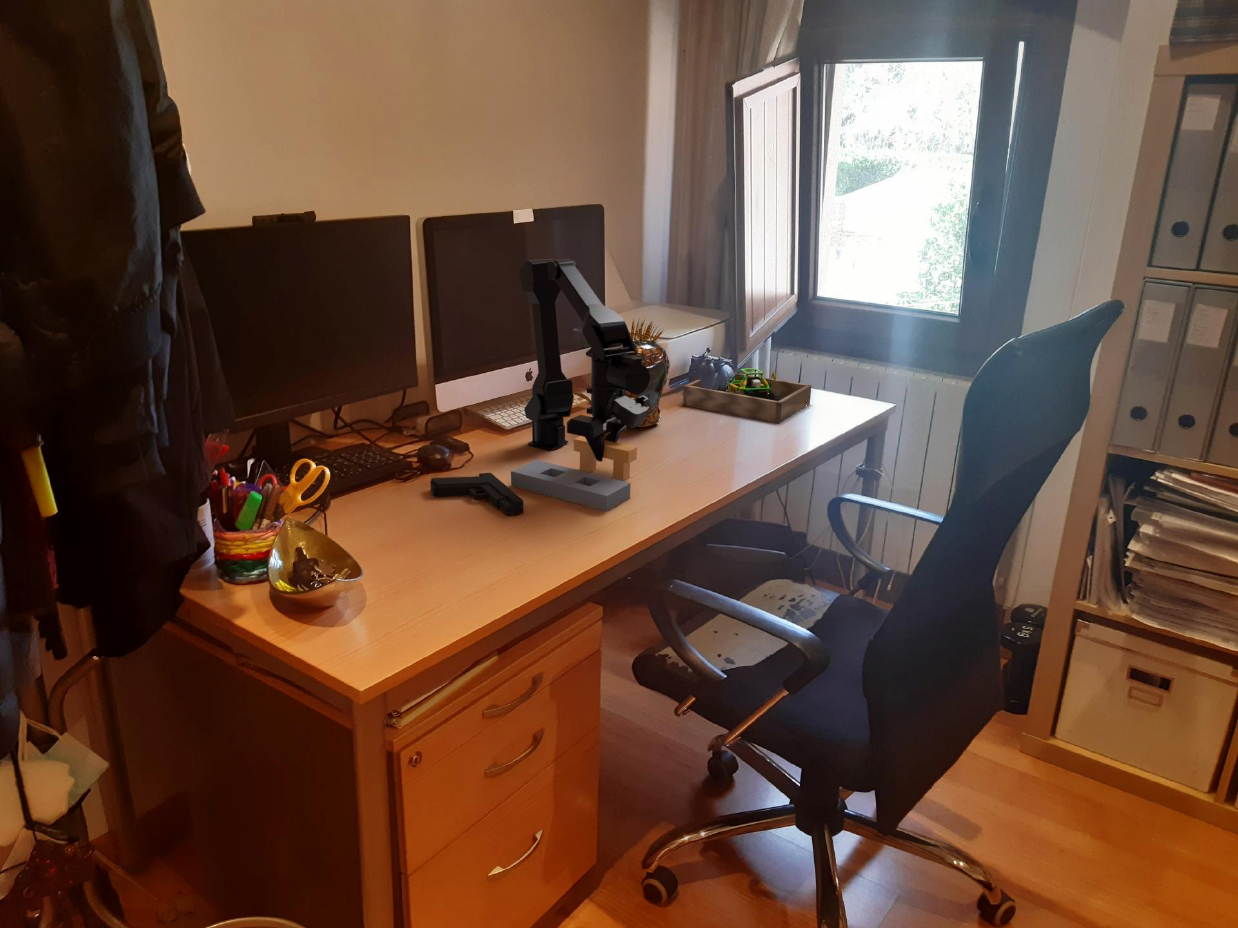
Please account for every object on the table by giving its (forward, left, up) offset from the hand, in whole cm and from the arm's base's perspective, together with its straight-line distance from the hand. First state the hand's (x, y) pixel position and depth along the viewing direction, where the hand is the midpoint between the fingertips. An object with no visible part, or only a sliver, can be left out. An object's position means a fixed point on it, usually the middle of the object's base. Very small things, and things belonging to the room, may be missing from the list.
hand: (604, 458), depth 182 cm
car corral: (+2, +63, -3) cm, 63 cm away
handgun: (-11, -26, -4) cm, 29 cm away
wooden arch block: (0, 0, -3) cm, 3 cm away
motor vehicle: (+2, +63, -3) cm, 63 cm away
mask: (-12, +33, -3) cm, 35 cm away
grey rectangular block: (0, -12, -3) cm, 12 cm away
